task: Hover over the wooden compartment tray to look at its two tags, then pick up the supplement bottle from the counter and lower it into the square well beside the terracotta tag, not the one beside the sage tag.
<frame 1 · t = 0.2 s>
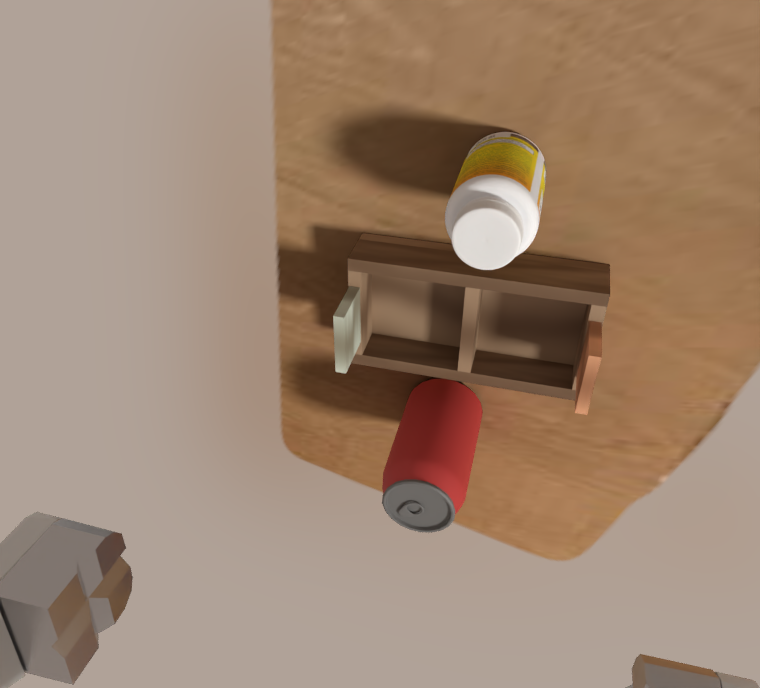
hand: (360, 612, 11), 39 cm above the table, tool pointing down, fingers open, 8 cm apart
beer can: (446, 402, 61), on the table
supplement bottle: (505, 168, 47), on the table
wooden compartment tray: (475, 302, 53), on the table
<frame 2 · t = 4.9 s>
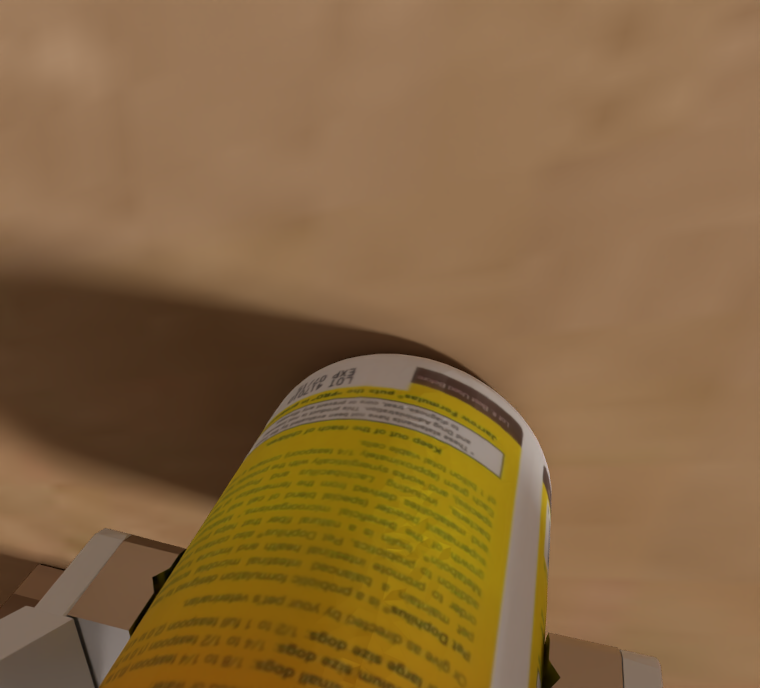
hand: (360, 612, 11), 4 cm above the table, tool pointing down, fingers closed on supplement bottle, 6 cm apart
supplement bottle: (412, 454, 14), on the table, touching gripper
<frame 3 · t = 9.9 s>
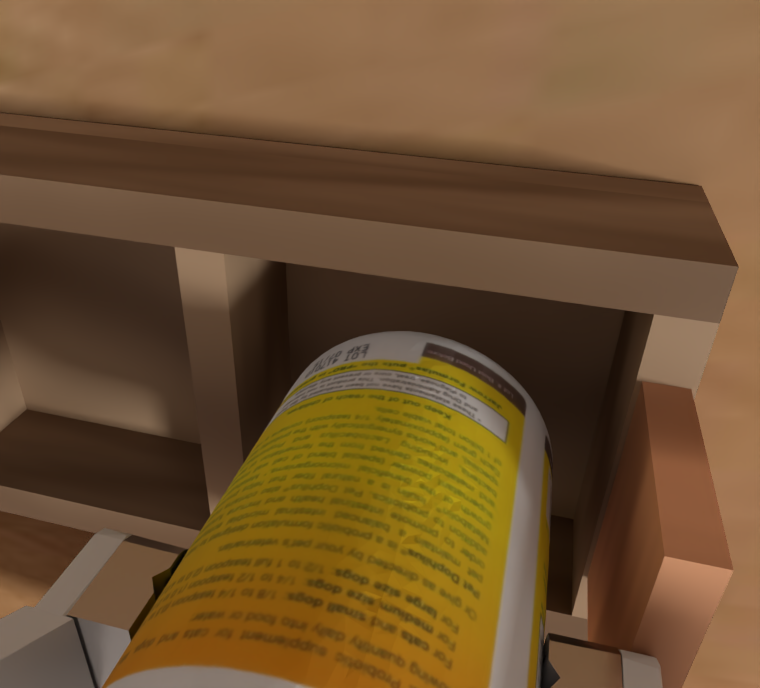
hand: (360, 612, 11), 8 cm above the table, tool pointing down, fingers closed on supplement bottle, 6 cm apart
supplement bottle: (420, 429, 15), point 3 cm above the table, touching gripper
wooden compartment tray: (285, 325, 18), on the table
when the fingers open (8 cm above the table, at t = 11.0 s): supplement bottle drops 2 cm, resting on wooden compartment tray.
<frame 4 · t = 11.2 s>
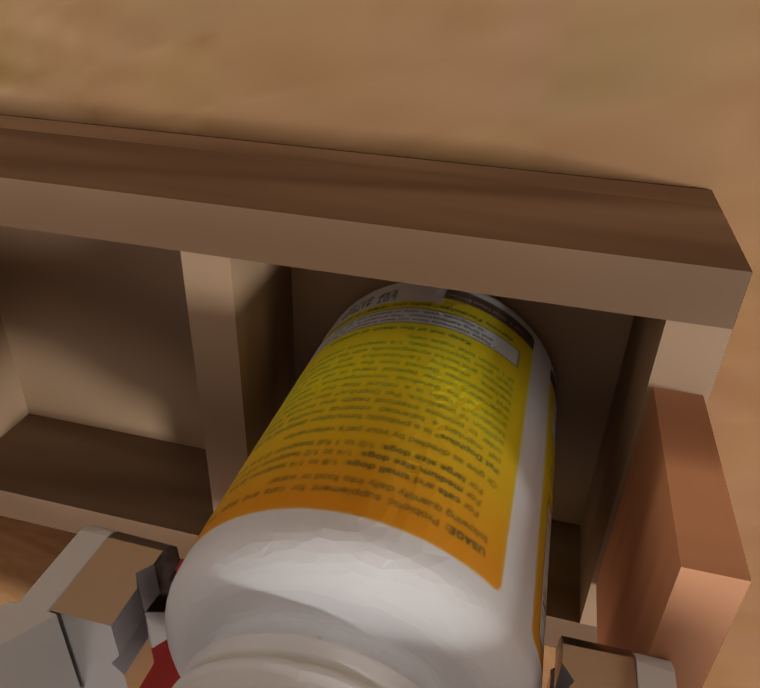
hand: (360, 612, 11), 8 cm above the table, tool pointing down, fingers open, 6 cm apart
beer can: (259, 589, 24), on the table
supplement bottle: (440, 372, 16), point 1 cm above the table, touching wooden compartment tray
wooden compartment tray: (289, 329, 18), on the table
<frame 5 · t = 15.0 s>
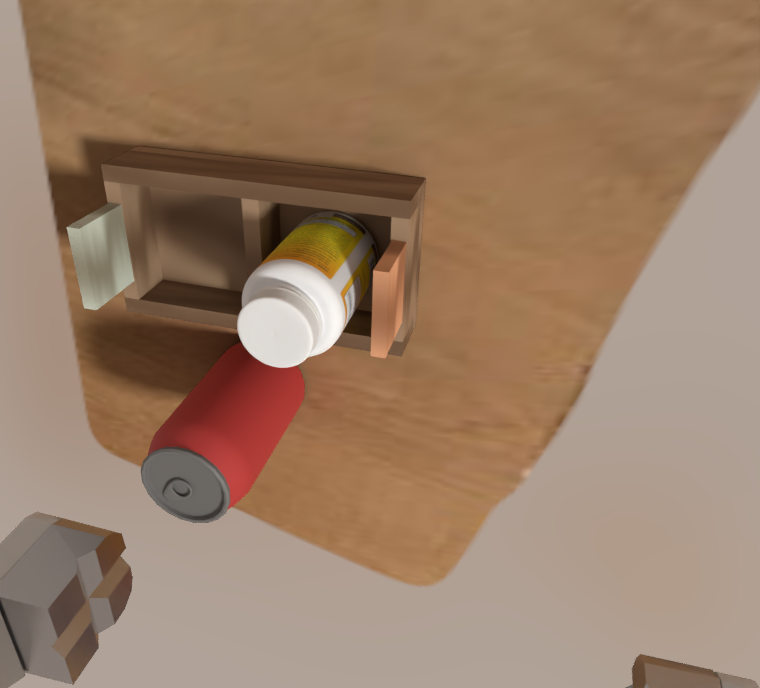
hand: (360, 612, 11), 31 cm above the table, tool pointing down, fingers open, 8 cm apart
beer can: (265, 374, 50), on the table
supplement bottle: (338, 250, 42), point 1 cm above the table, touching wooden compartment tray
wooden compartment tray: (279, 236, 43), on the table
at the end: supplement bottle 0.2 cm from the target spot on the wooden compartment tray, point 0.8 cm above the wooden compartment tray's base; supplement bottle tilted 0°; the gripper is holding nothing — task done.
